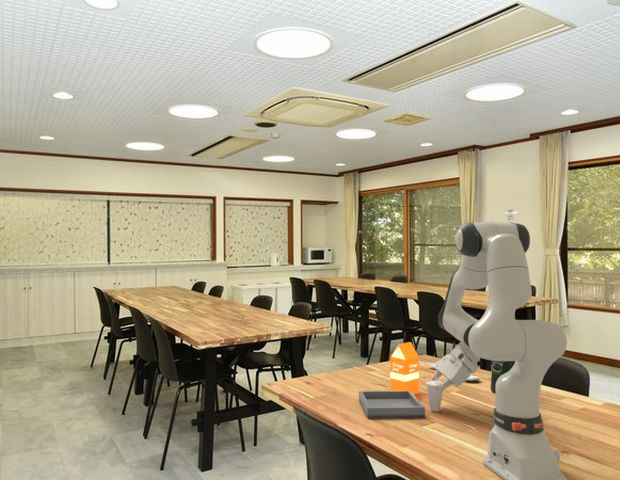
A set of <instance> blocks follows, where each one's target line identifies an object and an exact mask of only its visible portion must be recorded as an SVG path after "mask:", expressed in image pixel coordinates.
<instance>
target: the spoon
mask: <svg viewBox="0 0 620 480" xmlns="http://www.w3.org/2000/svg"><path fill="white" fill-rule="evenodd" d="M436 363H437V361H436V362H427V361H424V364H425V365H426V366H428V367H431V368H433V369H436V368H435V365H436ZM436 370H437V369H436ZM478 380H480V376H476V375H472V374H471V375H470V376H469V378H468V379H467V380H465V381H464V382H474V381H478Z"/></svg>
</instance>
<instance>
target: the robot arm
mask: <svg viewBox="0 0 620 480" xmlns="http://www.w3.org/2000/svg"><path fill="white" fill-rule="evenodd" d="M454 238H455V239H454V243H455V247H456V249H457V251H458V252H459V253H460V254H461V260H460V265H459V267H458V269H456V270H455V271H454V272H453V273H452V275H451V278H450V281H449V284H448V287H447V291H446V294H445V298H444V300H443V301H444V302H443V305H442V307H441V309H440V311H439V313H438V315H437V317H438V318H437V322H438V325H439V327H440V328H441V329H443V330H444V331H446V332H448V333H449V334H450V335H452V336H453V337H454V338H455V339H456V340H458V341H459V343H457V345H456V346H455V347H454V348H453V349H452V350H451V351H450V352H449V353H448V354H445V355H444V356H443V357H442V358H441V359H439V360H438V361H436V365H435V368H436V371H437V381H439V378H440V377H441V376H443V377H444V378H446V379H445V380H444V382H443V383H442V384H440V385H439V386H438V388H439V389H440V390H441V391H445V390H446V389H447V388H449V387H452V385H454V386H455V387H460V386H461V385H462V384H464V382H466V381H465V380H467V379H468V378H469V376H470V375H472V374H474V373H476V372H477V371H478V368H477V363H478V362H479V360H480V359H483V360H486V361H487V360H488V361H492V360H493V361H515V364H514V366H513V367H512V368H511V370H510V371H508V372H507V373H505V374H503V375H501V376H500V377H499V378H498V380H497V382H496V393H495V407H494V409H493V423H494V426H493V427H492V429H491V430H490V431H489V433H488V447H487V457H485V458H483V459H482V464H483V465H484V466H485V467H487V468H488V469H489V470H491V471H492V472H494V473H495V474H496V475H498V476H499V477H500V478H501V479H503V480H568V479H567V477H566V476H565V475H564V474H563V472H562V471H561V470H560V468H559V467H560V465H559V460H560V457H561V456H560V453H559V451H558V450H553V447H552V446H551V441H550V440H548V438H547V437H546V435H545V433H544V430H545V427H544V425H545V424H544V421H543V417H542V414H541V413H540V405H541V404H540V402H541V388H542V383H543V380H544V378H545V375H546V373H547V371H549V369H550V367H552V365H553V363H555V362H556V361H557V360H558V359H560V358H561V357H562V356H563V355H564V354H565V352H566V350H567V344H568V342H567V341H568V340H567V336H566V333H565V331H564V329H563V328H562V327H561V326H560V325H559V324H558V323H555V322H552V321H548V320H547V321H546V320H540V319H516V316H515V315H516V314H515V313H516V310H518V309H519V308H521V307H523V306H525V305H526V304H527V303H528V302H529V301H530V300H531V298H532V295H533V291H532V284H531V277H530V271H529V264H528V260H527V256H526V253H527V251H528V250H529V248H530V245H531V235H530V232H529V230H528V228H527V227H526V226H525V225H524V224H521V223H516V222H511V223H509V222H497V221H495V222H494V221H482V222H481V221H480V222H465V223H462V224H460V225H459V227H458V228H457V229H456V233H455V236H454ZM487 286H488V301H487V302H488V303H487V307H486V309H485V311H484V313H483V315H482V316H481V318H479V320H478V319H477V318H475V317H473V316H472V315H471V314H469V313H467V312H466V311H465V310H464V309H463V307H462V301H463V299H464V298H463V297H464V294H465V292H466V290H480V289H484V288H486V287H487ZM435 368H434V369H435ZM436 371H435V372H434V374H433V375H432V377H431V378H430V380H429V381H436Z"/></svg>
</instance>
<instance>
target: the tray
mask: <svg viewBox="0 0 620 480" xmlns="http://www.w3.org/2000/svg"><path fill="white" fill-rule="evenodd" d="M358 401H359V404H360V406H361V407H362V410H363V412H364V414H365V416H366V418H367V419H408V418H410V419H413V418H415V419H416V418H419V419H420V418H426V412H425V411H426V407H425V405H423V403H422V402H421V401H420V400H419V399H418V397H417V396H416V394H413V393H412V392H411V391H410V390H407V391H391V390H359V391H358Z"/></svg>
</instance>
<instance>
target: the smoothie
mask: <svg viewBox="0 0 620 480" xmlns="http://www.w3.org/2000/svg"><path fill="white" fill-rule="evenodd" d="M435 372H436V381H431V380H428V381H426V382H425V387H426V388H427V389H426V390H427V397H428V406H429V410H430V411H432V412H440V411H441V406H442V399H443V397H442V396H443V391H441V390H440V389H439V388H438V386H439V385H440V384H442V383H444V382H442V381H439V380H437V370H435Z"/></svg>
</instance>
